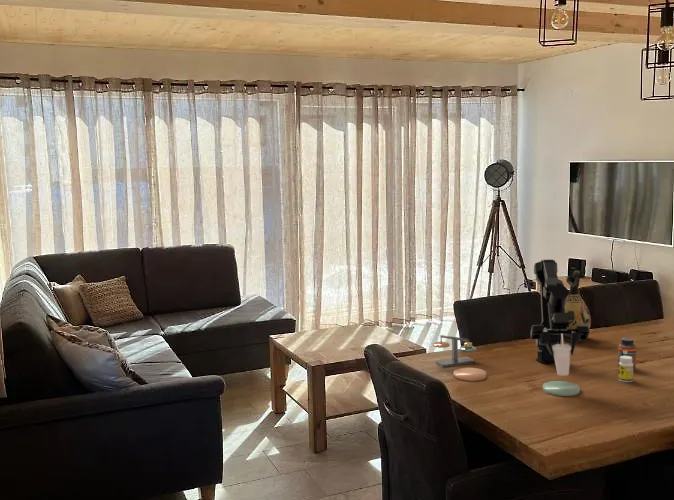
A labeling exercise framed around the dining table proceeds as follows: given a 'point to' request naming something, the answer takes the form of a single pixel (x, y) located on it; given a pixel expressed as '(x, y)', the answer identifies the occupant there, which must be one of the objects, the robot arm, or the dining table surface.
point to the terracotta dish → (470, 374)
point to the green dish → (561, 388)
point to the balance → (455, 352)
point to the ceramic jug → (576, 305)
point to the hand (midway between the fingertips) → (562, 354)
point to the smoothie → (562, 357)
